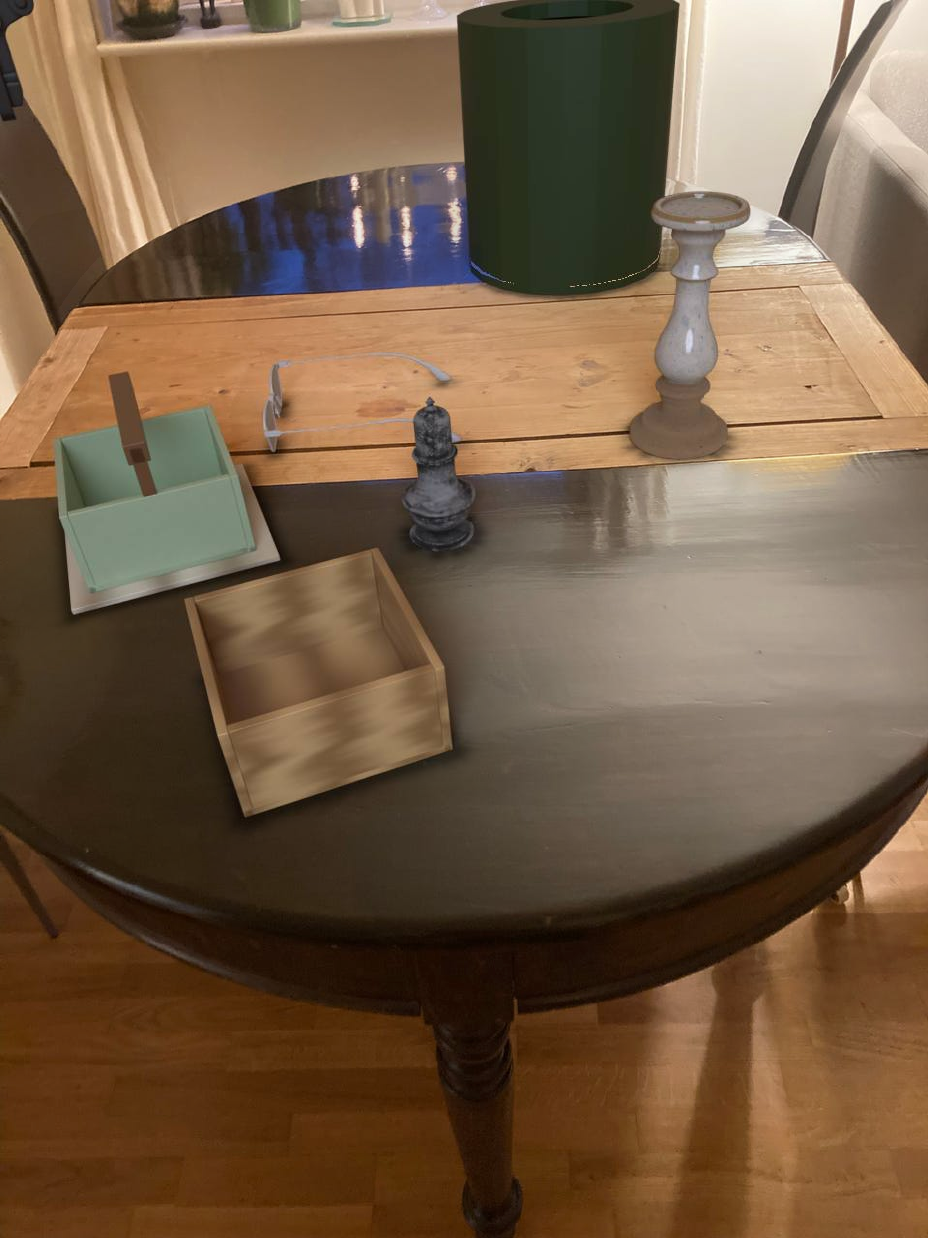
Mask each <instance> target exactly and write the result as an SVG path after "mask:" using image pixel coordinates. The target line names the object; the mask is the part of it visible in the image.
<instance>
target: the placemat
mask: <svg viewBox="0 0 928 1238" xmlns="http://www.w3.org/2000/svg"><path fill="white" fill-rule="evenodd" d="M234 466H235V469H236V471H237V474H238V477H239V481H240V485H241V489H242V493H243V497H244V501H245V505H246V509H247V513H248V517H249V521H250V525H251V529H252V533H253V537H254V541H255V545H256V549H257V550H256V551H252V552H249V553H245V554H241V555H237V556H233V557H229V558H225V559H221V560H218V561H214V562H210V563H206V564H202V565H198V566H194V567H191V568H187V569H183V570H179V571H175V572H171V573H167V574H164V575H160V576H156V577H152V578H148V579H144V580H140V581H136V582H133V583H129V584H125V585H121V586H117V587H113V588H109V589H106V590H102V591H98V592H94V593H90V592H89V590H88V587H87V585H86V583H85V580H84V578H83V575H82V573H81V570H80V568H79V565H78V563H77V560H76V558H75V555H74V553H73V551H72V548H71V546H70V543H69V541H68V538H67V536H66V533H65V532H64V540H65V542H64V543H65V552H66V553H65V554H66V563H67V564H66V565H67V575H68V576H67V577H68V586H69V587H68V588H69V596H70V597H69V599H70V610H71V613H72V615H78V614H81V613H85V612H86V613H87V612H89V611H93V610H97V609H101V608H104V607H108V606H113V605H116V604H120V603H123V602H128V601H131V600H134V599H139V598H143V597H146V596H151V595H154V594H157V593H161V592H162V593H163V592H165V591H169V590H174V589H177V588H181V587H185V586H188V585H191V584H192V585H193V584H196V583H200V582H203V581H207V580H211V579H214V578H218V577H223V576H226V575H229V574H234V573H237V572H238V573H239V572H241V571H245V570H249V569H252V568H256V567H260V566H264V565H268V564H272V563H275V562H279V561H281V557H280V554H279V551H278V548H277V546H276V544H275V543H276V542H275V541H274V539H273V536H272V534H271V532H270V531H271V530H270V528H269V526H268V524H267V521H266V519H265V517H264V514H263V511H262V508H261V506H260V504H259V501H258V498H257V496H256V494H255V491H254V490H253V487H252V484H251V482H250V479H249V477H248V475H247V474H248V473H247V472H246V469H245V466H244V464H243V463H239V464H234Z"/></svg>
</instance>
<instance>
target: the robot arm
mask: <svg viewBox="0 0 928 1238" xmlns="http://www.w3.org/2000/svg"><path fill="white" fill-rule="evenodd" d="M34 8H35V2H34V0H0V118H1V121H2V122H3V123H5V122H12V121H13V122H14V121H17V120H18V114H17V110H16V108H18V107H24V106H23V105H24V89H23V86H22V83H21V79H20V76H19V74H18V71H17V67H16V64H15V61H14V58H13V55H12V52H11V49H10V48H11V47H10V46H9V42H8V39H7V30H8V28H9V27H10V26H11V25H12V24H14V23H15V22H17V21H19V20H20V19H22V18H24V17H28V16H29V15H31V14H32V13H33V11H34Z"/></svg>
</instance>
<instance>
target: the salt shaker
mask: <svg viewBox="0 0 928 1238" xmlns="http://www.w3.org/2000/svg"><path fill="white" fill-rule="evenodd" d="M435 403H436V401H435V400H434V399H433V397H431V396H428V398H426V401H425V404H426V405H425V406H423V407H421V408H420V409H418V410H417V411H416V413H415V414H414V416H413V419H412V420H413V423H412V424H413V434H414V435H413V436H414V445H415V447H414V448H413V449H412V452H411V458H412V460H413V461H414V462H415V463H416V474H417V479H416V481H414V482H412V483H411V484H409V485H408V486H407V487H406V488H405V489H404V490H403V492H402V494H401V503H402V506H403V507H404V508H405V509H406V511H407V513H408V515H409V517H410V519H411V520H412V522H413V525H412V526H411V527H410V529H409V538H410V541H411V542H412V544H414V546H416V547H418V548H420V549H422V550H426V551H428V552H429V551H431V552H448V551H452V550H456V549H458V548H461V547H464V546H465V545H466V544H468V543H469V542H470V541H471V539H472V538H473V537H474V535H475V526H474V525H473V523H472V522H471V520H469V519H468V518H469V515H470V512H471V510H472V506H473V503H474V502H475V499H476V497H477V495H476V489H475V488H474V486H473V484H471V483H470V482H469V481H467V480H466V479H463V478H461V477H458V476H457V473H456V462H455V459H456V458H457V456H458V454H459V450H458V447H457V446H456V445H455V444H454V443H452V433H451V431H452V423H451V422H452V421H451V415H450V412H448V410H447V409H445V407H443V406H439V405H436V404H435Z"/></svg>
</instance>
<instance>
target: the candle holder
mask: <svg viewBox="0 0 928 1238" xmlns="http://www.w3.org/2000/svg"><path fill="white" fill-rule="evenodd" d="M751 210H752V209H751V205H750V203H749V202H748V200H746V199H745V198H743V197H741V196H738V195H737V194H736V195H735V194H731V193H728V192H727V193H726V192H721V191H708V190H697V191H695V190H694V191H684V192H677V193H672V194H669V195H665V197H662V198H660V199H658V200H657V201H656V202H655V203H654V205H653V207H652V210H651V218H652V220H653V221H654V222H655V223H657V224H658V225H660V226H662V228H666V229H669V230H671V232H670V236H671V238H672V240H673V241H674V242H675V244H676V245H677V247H678V252H679V253H678V258H677V259H676V261H675V262H674V264H673V265H672V267H671V268H670V271H669V273H670V275H671V277H673V278H674V279H675V291H674V299H673V305H672V306H673V307H672V308H671V309H672V310H671V313H670V316H669V318H668V321H667V323H666V325H665V326H664V328H663V330H662V332H661V333H660V335H659V337H658V340H657V342H656V344H655V347H654V351H653V361H654V364H655V367H656V369H657V370H658V372H659V373H660V376H659V377H658V378H657V379H656V380H655V383H654V385H655V386H654V387H655V390H656V391H657V393H658V394H659V397H660V399H661V400H659V401H656V402H654V403H651V404H650V405H648V406H647V407H646V408H645V409H644V410H643V411H640V412H639V413H637V414H636V415H635V416H634V417H633V418H632V420H631V422H630V424H629V438H630V440H631V442H632V444H633V445H634V446H636V447H637V448H638V449H639V450H641V451H643V452H646V453H647V454H649V455H651V456H652V455H653V456H655V457H659V458H665V459H670V460H671V459H672V460H690V459H698V458H702V457H703V458H704V457H706V456H709V455H712V454H714V453H716V452H717V451H719V450H721V448H723V446H724V445H725V443H726V442H727V438H728V433H729V431H728V429H729V428H728V426H727V423H726V421H725V420H724V419H723V418H722V417H721V416H720V415H718V414H717V412H715V410H714V409H713V408H711V407H710V406H709V405H707V404H705V403H702V400H703V399H704V398H705V396H706V395H707V394H708V393H709V392H710V390H711V387H712V386H711V382H710V380H709V379H708V377H707V376H708V375H709V374H710V373H711V372H712V371H713V370H714V368H715V366H716V364H717V362H718V358H719V347H718V342H717V341H718V340H717V338H716V335H715V332H714V329H713V327H712V323H711V319H710V314H709V302H710V300H709V299H710V290H711V289H710V288H711V282H712V279H714V278H716V277H718V276H719V268H718V266H717V265H716V263H715V261H714V260H715V259H714V251H715V249H716V247H717V245H719V243H720V242H722V240H723V239H724V238H725V237H726V231H727V230H730V229H731V230H732V229H734V228H737V227H740V226H742V225H744V224H745V223H747V222H748V221H749V219H750V216H751Z"/></svg>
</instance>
